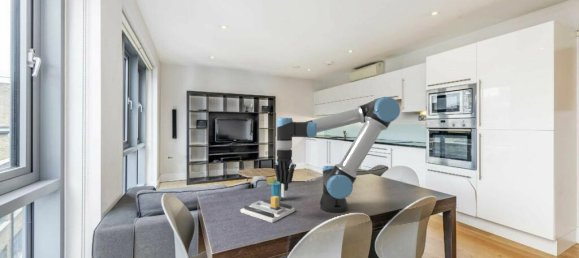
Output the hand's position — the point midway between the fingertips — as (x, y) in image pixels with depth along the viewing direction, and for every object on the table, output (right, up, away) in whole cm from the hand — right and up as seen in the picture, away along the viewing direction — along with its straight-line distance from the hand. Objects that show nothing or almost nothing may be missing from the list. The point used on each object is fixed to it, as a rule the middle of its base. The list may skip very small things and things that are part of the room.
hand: (284, 196), depth 116 cm
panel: (-9, -10, +7) cm, 15 cm away
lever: (-5, -8, +4) cm, 10 cm away
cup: (-4, -10, +26) cm, 28 cm away
